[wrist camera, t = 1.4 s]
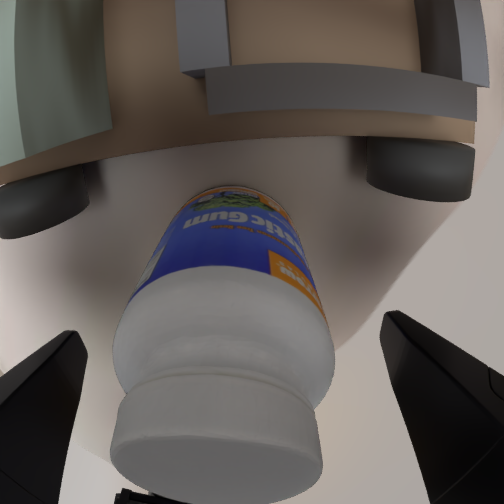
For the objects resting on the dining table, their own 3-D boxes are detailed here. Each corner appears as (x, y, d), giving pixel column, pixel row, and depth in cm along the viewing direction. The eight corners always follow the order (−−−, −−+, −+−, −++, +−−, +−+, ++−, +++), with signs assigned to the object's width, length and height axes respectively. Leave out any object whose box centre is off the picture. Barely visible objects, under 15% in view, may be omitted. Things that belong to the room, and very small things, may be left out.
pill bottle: (318, 210, 13) (432, 422, 4) (266, 313, 15) (286, 520, 6) (188, 163, 12) (60, 348, 3) (154, 277, 14) (81, 483, 5)
